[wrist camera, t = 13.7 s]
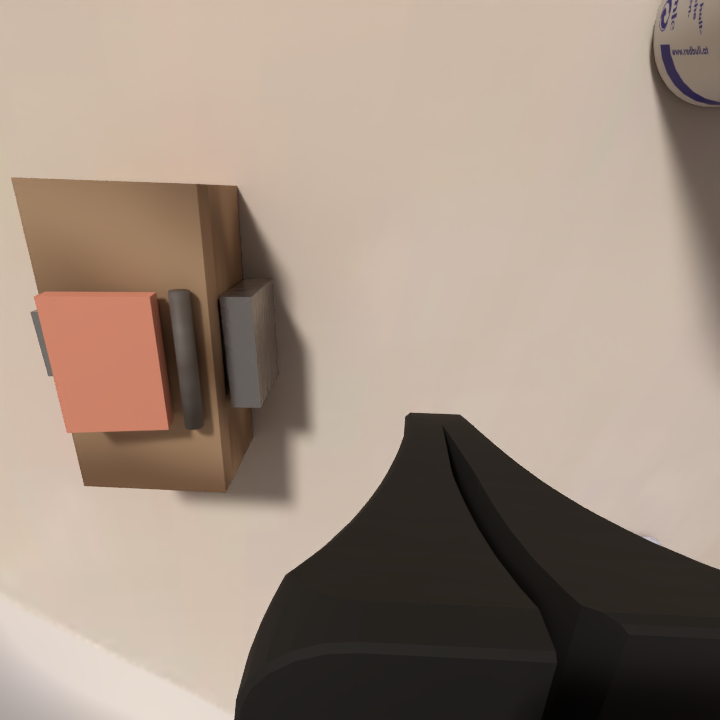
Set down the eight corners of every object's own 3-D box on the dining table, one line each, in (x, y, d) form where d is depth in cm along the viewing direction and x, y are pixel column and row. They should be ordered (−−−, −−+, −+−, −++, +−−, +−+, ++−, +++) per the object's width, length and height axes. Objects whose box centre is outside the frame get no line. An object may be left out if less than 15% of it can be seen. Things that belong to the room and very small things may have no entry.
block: (253, 437, 22) (219, 504, 17) (137, 432, 22) (72, 497, 18) (236, 186, 18) (187, 183, 13) (93, 181, 18) (-9, 176, 13)
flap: (168, 429, 16) (67, 433, 16) (174, 420, 17) (76, 423, 16) (149, 296, 14) (34, 296, 14) (156, 292, 15) (46, 291, 14)
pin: (279, 373, 21) (260, 407, 18) (92, 370, 21) (40, 403, 18) (272, 278, 19) (251, 297, 16) (70, 276, 20) (8, 294, 16)
